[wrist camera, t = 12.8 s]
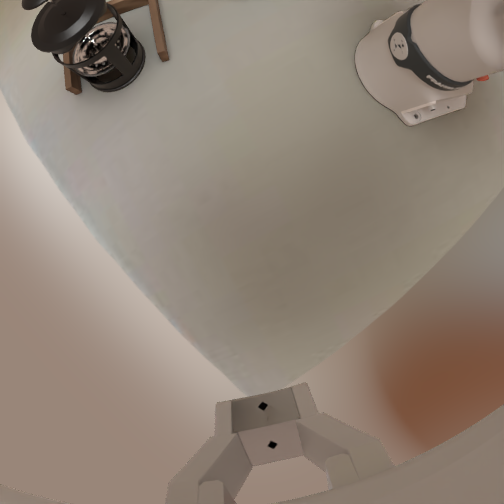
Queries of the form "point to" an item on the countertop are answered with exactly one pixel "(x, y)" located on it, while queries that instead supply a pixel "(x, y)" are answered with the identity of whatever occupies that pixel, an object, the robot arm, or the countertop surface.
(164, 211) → the countertop surface
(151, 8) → the walnut dock
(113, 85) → the french press
